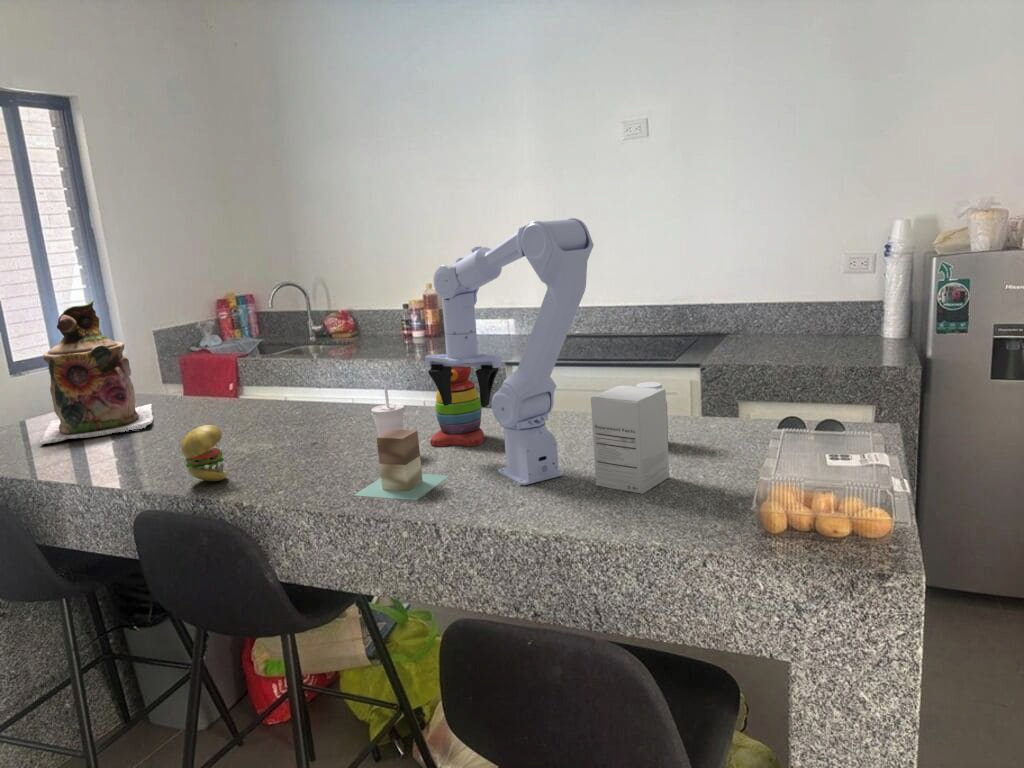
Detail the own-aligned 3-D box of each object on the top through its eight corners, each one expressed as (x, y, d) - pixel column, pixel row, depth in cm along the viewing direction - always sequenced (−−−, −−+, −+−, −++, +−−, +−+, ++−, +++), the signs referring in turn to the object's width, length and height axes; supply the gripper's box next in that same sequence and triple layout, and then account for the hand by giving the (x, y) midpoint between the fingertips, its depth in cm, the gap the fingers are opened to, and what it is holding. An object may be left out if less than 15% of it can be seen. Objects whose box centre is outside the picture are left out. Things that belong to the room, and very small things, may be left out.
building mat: (450, 477, 131) (449, 475, 131) (416, 501, 120) (416, 500, 120) (390, 473, 136) (390, 472, 135) (353, 497, 125) (353, 495, 125)
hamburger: (236, 480, 138) (226, 417, 136) (197, 492, 133) (186, 426, 131) (219, 473, 144) (209, 412, 141) (181, 483, 139) (170, 421, 137)
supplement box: (623, 469, 128) (619, 384, 125) (670, 477, 123) (667, 388, 119) (593, 486, 121) (588, 395, 118) (642, 495, 116) (638, 400, 113)
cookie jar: (50, 427, 196) (25, 304, 190) (154, 411, 206) (133, 294, 199) (37, 448, 174) (8, 311, 168) (154, 429, 184) (131, 299, 177)
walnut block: (420, 455, 128) (417, 430, 127) (405, 464, 124) (402, 438, 123) (394, 454, 130) (391, 429, 129) (379, 463, 126) (376, 437, 125)
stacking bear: (427, 447, 151) (418, 359, 147) (443, 433, 160) (435, 351, 157) (479, 446, 148) (471, 358, 145) (492, 432, 158) (485, 349, 154)
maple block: (422, 481, 129) (420, 456, 128) (408, 491, 125) (405, 465, 124) (397, 479, 131) (394, 454, 130) (382, 489, 126) (379, 463, 126)
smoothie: (378, 462, 143) (369, 390, 140) (375, 453, 149) (367, 384, 146) (411, 457, 144) (404, 386, 142) (407, 449, 150) (399, 380, 148)
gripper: (414, 335, 135) (421, 409, 138) (488, 335, 129) (494, 411, 132) (432, 329, 141) (438, 399, 144) (504, 329, 136) (508, 402, 139)
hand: (466, 405), depth 138 cm, fingers open, 7 cm apart
